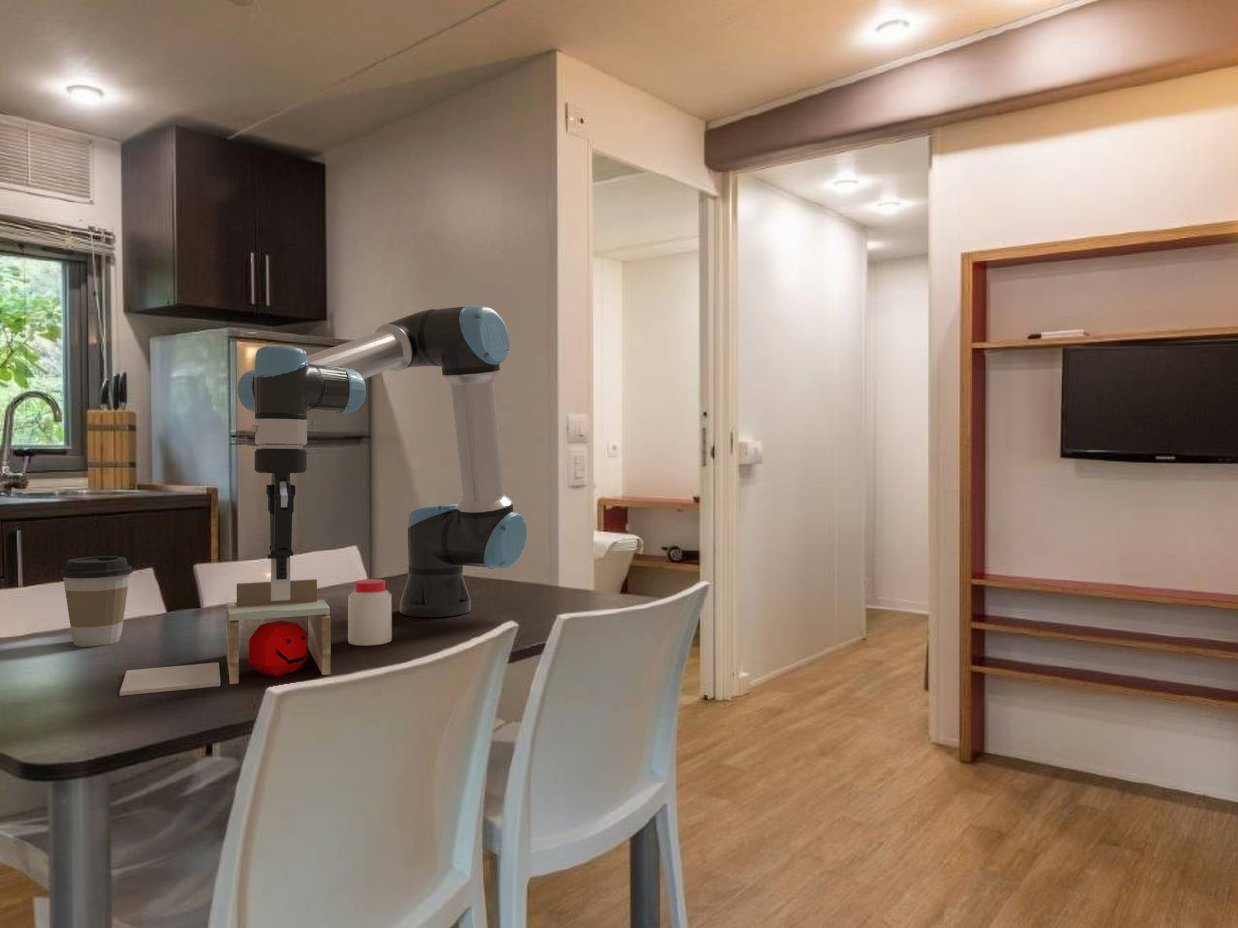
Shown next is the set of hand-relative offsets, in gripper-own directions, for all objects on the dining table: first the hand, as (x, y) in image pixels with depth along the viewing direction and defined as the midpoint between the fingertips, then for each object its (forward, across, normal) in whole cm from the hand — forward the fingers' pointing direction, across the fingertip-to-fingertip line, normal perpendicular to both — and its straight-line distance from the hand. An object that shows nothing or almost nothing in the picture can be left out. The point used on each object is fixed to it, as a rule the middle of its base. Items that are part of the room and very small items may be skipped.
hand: (280, 599), depth 136 cm
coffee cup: (+12, -38, -28) cm, 49 cm away
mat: (+12, -4, -15) cm, 20 cm away
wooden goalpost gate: (+12, -8, 0) cm, 14 cm away
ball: (+12, -3, 0) cm, 12 cm away
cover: (+3, -3, 0) cm, 4 cm away
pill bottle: (+12, -20, +17) cm, 29 cm away
